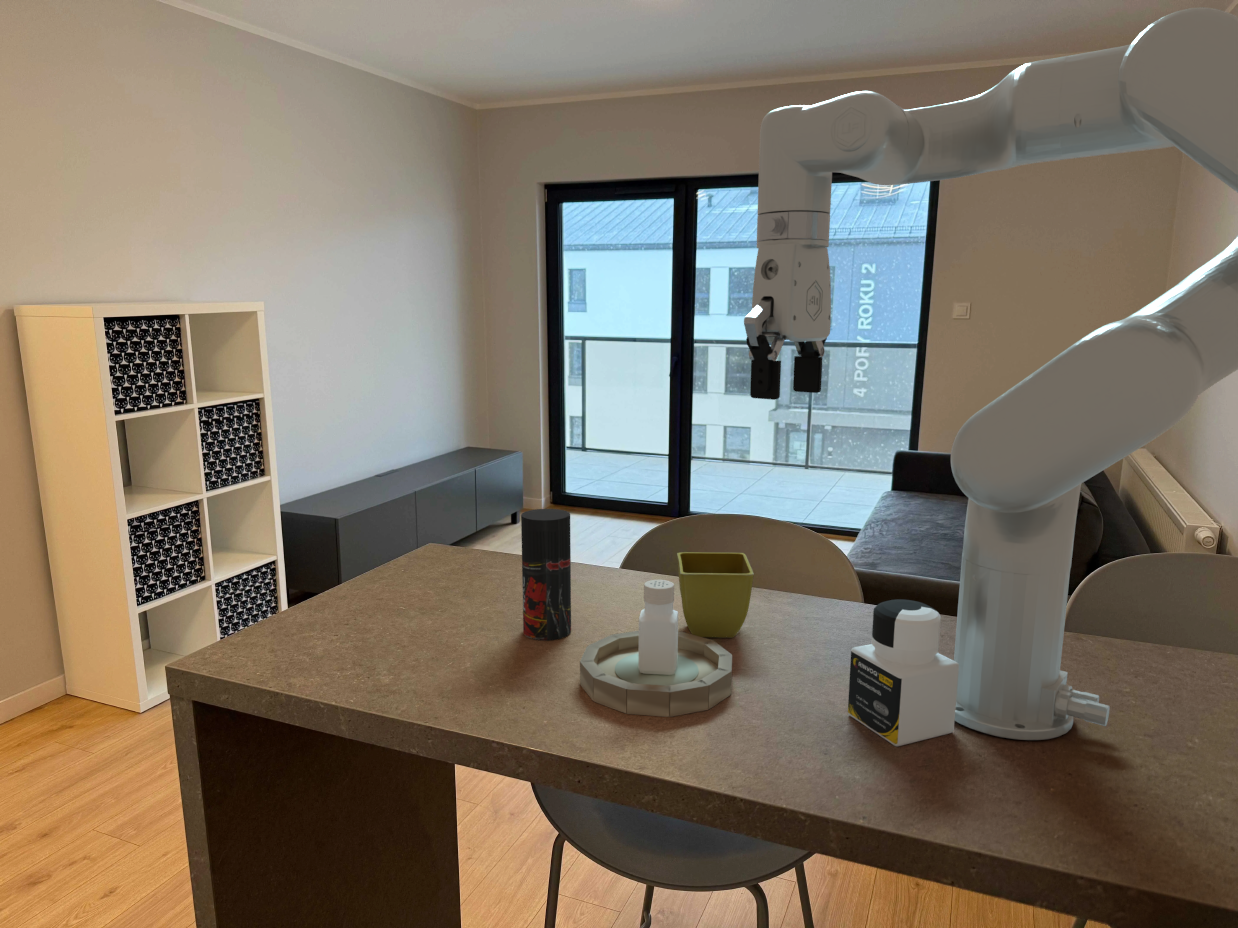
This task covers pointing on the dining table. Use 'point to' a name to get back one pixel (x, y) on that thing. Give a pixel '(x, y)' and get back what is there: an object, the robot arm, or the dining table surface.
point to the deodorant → (546, 574)
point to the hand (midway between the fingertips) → (786, 395)
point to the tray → (656, 676)
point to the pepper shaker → (658, 629)
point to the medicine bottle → (903, 676)
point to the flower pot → (714, 592)
